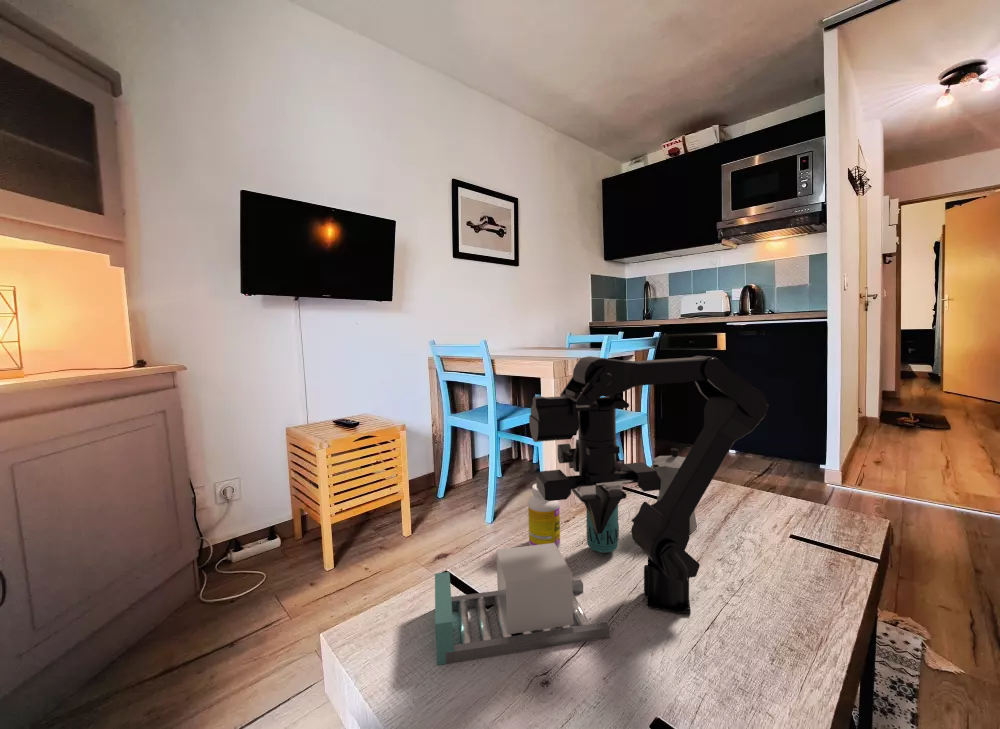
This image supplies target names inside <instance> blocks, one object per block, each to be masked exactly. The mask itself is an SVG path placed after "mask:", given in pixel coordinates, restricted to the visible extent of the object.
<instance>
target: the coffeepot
mask: <svg viewBox="0 0 1000 729" xmlns="http://www.w3.org/2000/svg"><path fill="white" fill-rule="evenodd" d="M670 453H671V455H659V456H656V457H655V458H653V459H652V465H650V467H651V468H652V469H654V470H656V471H657V472H658V473H659V475H660V478H661V489H660V490H658V496H657V497H656V498H657V499H656V502H658V501H659V500H661V499H662V497H663V496H664V494H665V492H666V490H667V489H668V487H669V485H670V484H671V482H672V480H673V479H674V477H675V475H676V473H677V472H678V470H679V468H680V467H681V465H682V463H683V462H684V460H685V458H686V456H685V457H684V456H679V449H678V448H670ZM697 528H698V524H697V519H696V513H695V511H694V512H693V513H692V515H691V517H690V534H692V533H693V534H694V533H695V531H696V529H697Z"/></svg>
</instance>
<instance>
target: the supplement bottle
mask: <svg viewBox="0 0 1000 729" xmlns="http://www.w3.org/2000/svg"><path fill="white" fill-rule="evenodd" d="M531 490H532V491H531V492H532V496H531V497H530V498H529V499H528V502H527V508H528V510H527V512H528V514H527V515H528V518H527V519H528V543H529V546H532V545H541V544H549V543H555V545H556V546H557V548H558V549H559V548H560V545H561V517H560V516H561V512H560V500H556V501H547V500H545V499H544V498H543V496H542V495H541V493H540V492H539V490H538V489H537V483H534V484H532V488H531Z"/></svg>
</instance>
